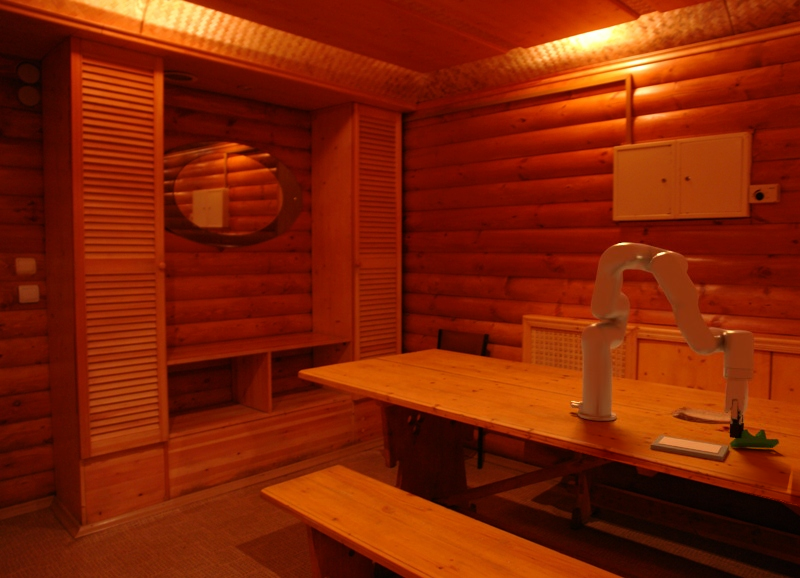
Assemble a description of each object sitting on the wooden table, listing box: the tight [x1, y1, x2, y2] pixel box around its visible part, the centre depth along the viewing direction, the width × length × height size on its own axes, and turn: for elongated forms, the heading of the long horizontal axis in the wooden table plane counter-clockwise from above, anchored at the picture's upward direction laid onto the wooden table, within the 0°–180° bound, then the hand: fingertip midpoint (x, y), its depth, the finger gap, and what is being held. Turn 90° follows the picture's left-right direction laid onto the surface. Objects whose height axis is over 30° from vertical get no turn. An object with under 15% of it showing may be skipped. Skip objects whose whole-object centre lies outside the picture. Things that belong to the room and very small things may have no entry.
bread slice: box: [670, 406, 731, 424], centre depth 202 cm, size 18×18×4 cm
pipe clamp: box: [729, 428, 780, 449], centre depth 170 cm, size 11×4×5 cm
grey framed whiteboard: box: [650, 434, 730, 462], centre depth 170 cm, size 18×12×1 cm, turn 55°
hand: (736, 436), depth 174 cm, fingers closed on pipe clamp
